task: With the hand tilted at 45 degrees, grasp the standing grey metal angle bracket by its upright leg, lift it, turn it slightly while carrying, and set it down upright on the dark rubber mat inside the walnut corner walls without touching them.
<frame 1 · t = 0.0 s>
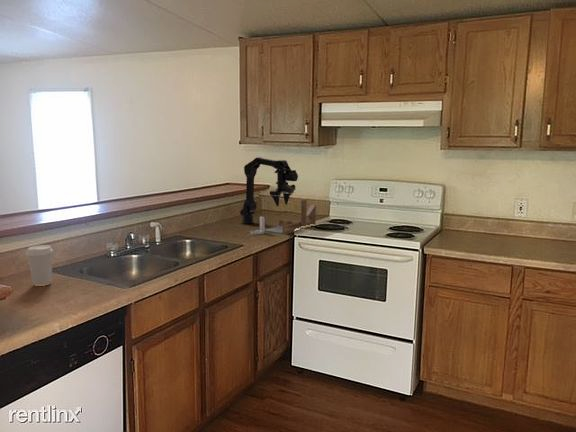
hand: (282, 205, 303), 15 cm above the counter, tool pointing down, fingers open, 9 cm apart
walls: (282, 226, 298), on the mat, point 3 cm above the counter
bracket: (262, 233, 290), on the counter
mat: (282, 230, 298), on the counter
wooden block: (307, 227, 309), on the counter
coffee cup: (42, 284, 191), on the counter
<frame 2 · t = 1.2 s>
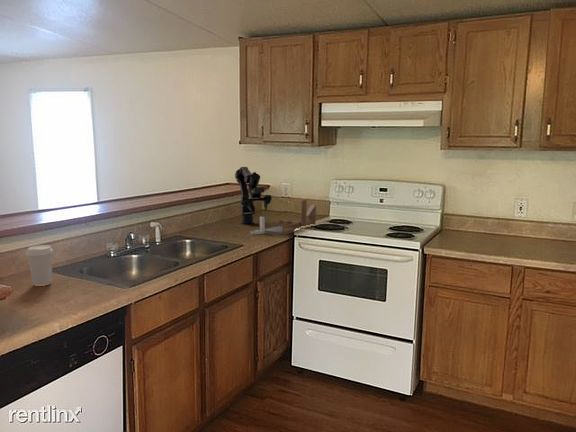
hand: (259, 210, 293), 13 cm above the counter, tool tilted 45°, fingers open, 9 cm apart
nothing on the counter moved.
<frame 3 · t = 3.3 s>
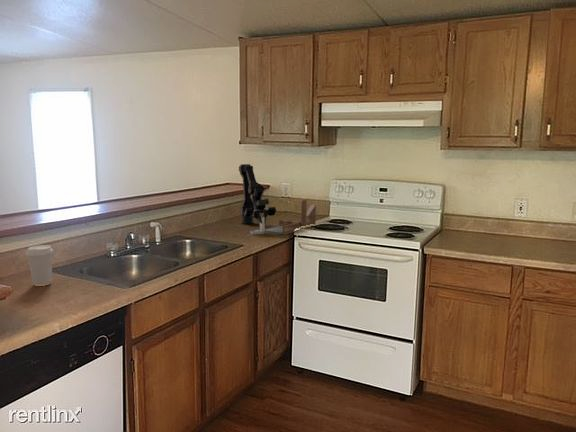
hand: (263, 223, 286), 7 cm above the counter, tool tilted 45°, fingers closed on bracket, 2 cm apart
bracket: (262, 233, 290), on the counter, touching gripper
everything else where it was.
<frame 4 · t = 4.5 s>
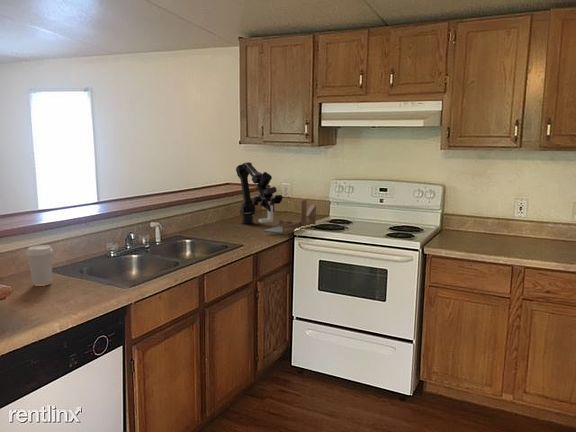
hand: (272, 211, 288), 13 cm above the counter, tool tilted 45°, fingers closed on bracket
bracket: (270, 221, 291), point 7 cm above the counter, touching gripper
everything else where it was.
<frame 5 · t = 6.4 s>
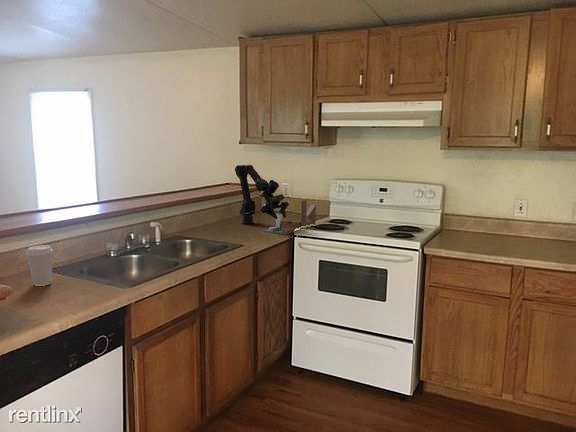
hand: (281, 218, 294), 8 cm above the counter, tool tilted 45°, fingers open, 6 cm apart
bracket: (278, 229, 297), point 1 cm above the counter, touching mat
everything else where it was.
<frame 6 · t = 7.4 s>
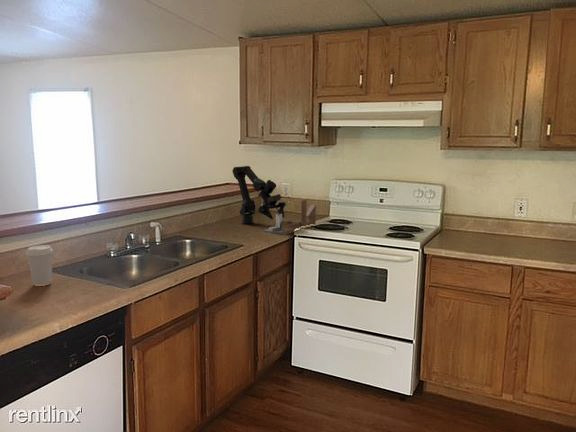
hand: (278, 218, 296), 8 cm above the counter, tool tilted 45°, fingers open, 9 cm apart
nothing on the counter moved.
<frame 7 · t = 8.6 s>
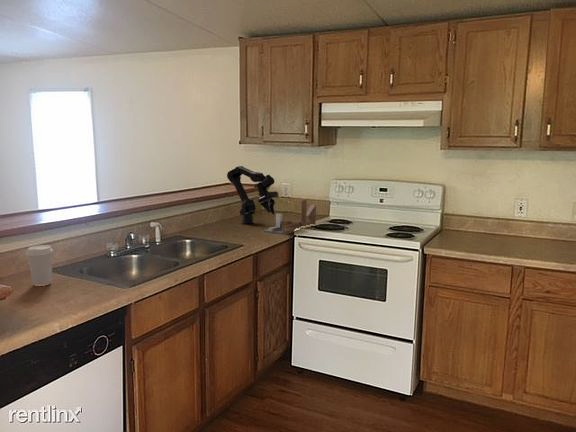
hand: (271, 213, 304), 10 cm above the counter, tool tilted 30°, fingers open, 9 cm apart
nothing on the counter moved.
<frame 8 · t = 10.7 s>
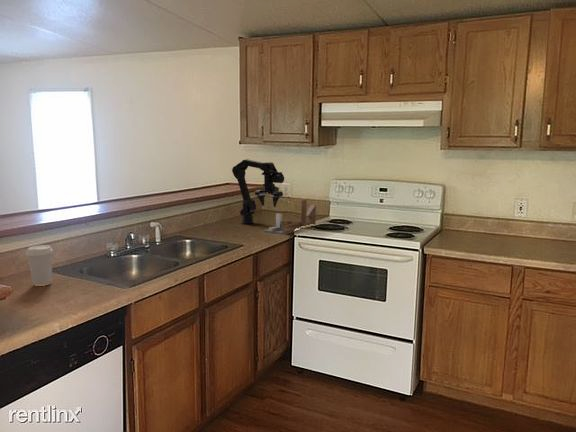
hand: (268, 206, 309), 13 cm above the counter, tool pointing down, fingers open, 9 cm apart
nothing on the counter moved.
at the end: bracket inside the target area on the mat (0.6 cm from its centre), point 0.8 cm above the mat's base; bracket tilted 0°; bracket touching mat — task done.
